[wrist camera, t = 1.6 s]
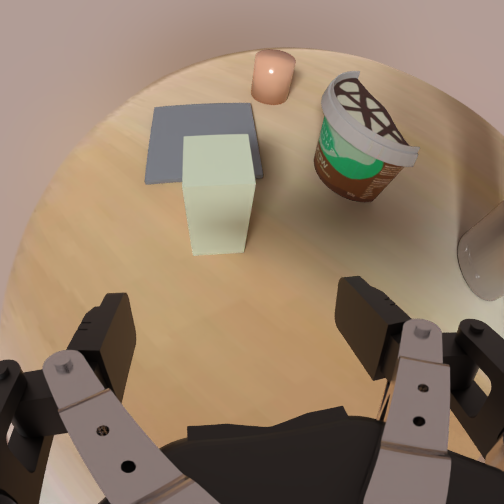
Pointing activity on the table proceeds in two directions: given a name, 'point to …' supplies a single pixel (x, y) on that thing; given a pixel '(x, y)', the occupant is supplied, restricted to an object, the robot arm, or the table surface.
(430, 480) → the robot arm
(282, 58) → the peach pillar candle
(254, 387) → the table surface
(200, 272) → the table surface
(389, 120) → the food container
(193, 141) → the sage block
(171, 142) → the plate
